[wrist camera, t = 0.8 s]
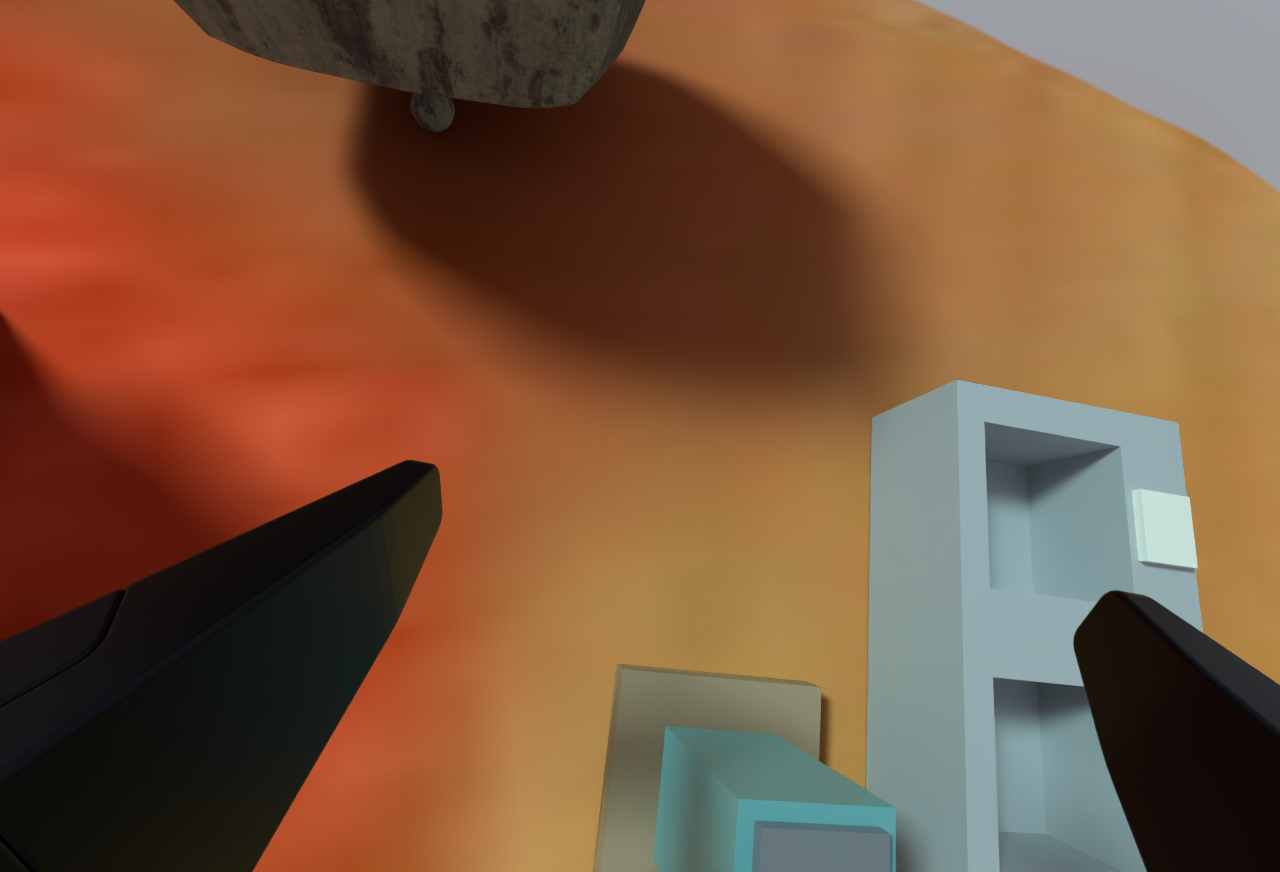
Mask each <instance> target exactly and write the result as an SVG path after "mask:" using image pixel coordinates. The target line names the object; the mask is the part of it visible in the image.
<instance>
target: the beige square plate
mask: <svg viewBox="0 0 1280 872" xmlns="http://www.w3.org/2000/svg"><path fill="white" fill-rule="evenodd" d="M820 716H821V687H819V686H816V685H813V684H811V683H808V682H805V681H794V680H784V679H773V678H762V677H752V676H741V675H730V674H720V673H709V672H698V671H688V670H677V669H666V668H656V667H645V666H634V665H624V664H617V669H616V678H615V686H614V695H613V704H612V712H611V721H610V730H609V739H608V747H607V756H606V765H605V774H604V782H603V791H602V800H601V809H600V817H599V826H598V835H597V844H596V852H595V861H594V870H593V872H659V871H658V869H657V867H656V865H655V863H654V861H653V856H654V845H655V835H656V824H657V813H658V802H659V792H660V781H661V770H662V759H663V748H664V738H665V727H666V726H673V727H686V728H699V729H711V730H724V731H737V732H750V733H763V734H776V735H777V736H779V737H781V738H782V739H784V740H785V741H787V742H789V743H790V744H792V745H794V746H795V747H797V748H799V749H800V750H802V751H803V752H805V753H807V754H808V755H810V756H812V757H813V758H815V759H817V760H818V761H819V746H820Z"/></svg>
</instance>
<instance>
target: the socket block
mask: <svg viewBox="0 0 1280 872" xmlns="http://www.w3.org/2000/svg"><path fill="white" fill-rule="evenodd" d="M1195 568H1198V566H1197V557H1196V549H1195V541H1194V532H1193V524H1192V516H1191V507H1190V499H1189V497H1187V495H1186V486H1185V478H1184V469H1183V461H1182V453H1181V444H1180V436H1179V427H1178V423H1177V422H1172V421H1167V420H1162V419H1157V418H1152V417H1146V416H1141V415H1136V414H1131V413H1126V412H1121V411H1116V410H1110V409H1105V408H1100V407H1095V406H1090V405H1085V404H1079V403H1074V402H1069V401H1064V400H1059V399H1054V398H1048V397H1043V396H1038V395H1033V394H1028V393H1023V392H1017V391H1012V390H1007V389H1002V388H997V387H992V386H986V385H981V384H976V383H971V382H966V381H961V380H955V381H953V382H951V383H949V384H946V385H944V386H942V387H940V388H937V389H935V390H933V391H931V392H928V393H926V394H924V395H922V396H919V397H917V398H915V399H913V400H910V401H908V402H906V403H904V404H901V405H899V406H897V407H895V408H892V409H890V410H888V411H886V412H883V413H881V414H879V415H877V416H874V417H872V440H871V506H870V573H869V639H868V705H867V771H866V790H867V791H869V792H871V793H872V794H874V795H876V796H877V797H879V798H880V799H882V800H884V801H885V802H887V803H889V804H890V805H892V806H894V807H895V808H896V872H1146V869H1145V866H1144V864H1143V861H1142V859H1141V856H1140V853H1139V851H1138V848H1137V846H1136V843H1135V840H1134V838H1133V835H1132V833H1131V830H1130V827H1129V825H1128V822H1127V820H1126V817H1125V814H1124V812H1123V809H1122V806H1121V804H1120V801H1119V799H1118V796H1117V793H1116V791H1115V788H1114V786H1113V783H1112V780H1111V777H1110V775H1109V772H1108V769H1107V766H1106V763H1105V760H1104V757H1103V753H1102V750H1101V747H1100V743H1099V740H1098V736H1097V732H1096V729H1095V725H1094V721H1093V718H1092V714H1091V710H1090V707H1089V703H1088V699H1087V696H1086V692H1085V689H1084V685H1083V681H1082V678H1081V674H1080V670H1079V667H1078V663H1077V659H1076V656H1075V652H1074V647H1073V639H1074V634H1075V632H1076V630H1077V628H1078V627H1079V625H1080V624H1081V623H1082V621H1083V620H1084V619H1085V617H1086V616H1087V615H1088V614H1089V612H1090V611H1091V610H1092V608H1093V607H1094V606H1095V604H1096V603H1097V602H1098V600H1099V599H1100V598H1101V597H1102V596H1103V595H1104V594H1105V593H1107V592H1109V591H1112V590H1120V591H1125V592H1131V593H1136V594H1142V595H1145V596H1148V597H1150V598H1152V599H1154V600H1155V601H1157V602H1158V603H1160V604H1161V605H1163V606H1164V607H1166V608H1167V609H1168V610H1170V611H1171V612H1173V613H1174V614H1176V615H1177V616H1179V617H1180V618H1182V619H1183V620H1185V621H1186V622H1188V623H1189V624H1191V625H1192V626H1193V627H1195V628H1196V629H1198V630H1199V631H1201V632H1202V633H1203V630H1202V621H1201V613H1200V604H1199V596H1198V587H1197V579H1196V571H1195Z"/></svg>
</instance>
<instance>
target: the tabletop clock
mask: <svg viewBox="0 0 1280 872" xmlns="http://www.w3.org/2000/svg"><path fill="white" fill-rule="evenodd" d="M174 1H175V2H176V3H177V4H178V5H179V6H180V7H181V8H182V9H183V10H184V11H185V12H186V13H187V14H188V15H189V17H190V18H191V19H192V20H193V21H194V22H195V23H196V24H197V25H198V26H199V27H200V28H201V29H202V30H203V31H204V32H205V33H206V34H207V35H209V36H211V37H213V38H215V39H218V40H220V41H222V42H224V43H227V44H229V45H231V46H233V47H235V48H238V49H240V50H242V51H244V52H247V53H249V54H252V55H255V56H258V57H261V58H264V59H267V60H270V61H273V62H277V63H280V64H284V65H288V66H292V67H296V68H301V69H305V70H310V71H314V72H319V73H324V74H328V75H333V76H337V77H342V78H347V79H351V80H356V81H360V82H365V83H370V84H374V85H379V86H383V87H388V88H392V89H397V90H402V91H406V92H413V95H412V98H411V101H410V107H411V111H412V114H413V116H414V117H415V119H416V120H417V122H418V123H419V124H420V125H421V127H423V128H424V129H426V130H428V131H431V132H440V131H443V130H445V129H447V128H448V127H449V126H450V125H451V123H452V121H453V118H454V115H455V108H454V105H453V102H452V100H451V99H450V98H455V99H462V100H469V101H476V102H483V103H490V104H498V105H505V106H513V107H523V108H551V107H558V106H564V105H571V104H576V103H577V102H578V101H579V100H580V99H581V98H582V97H583V96H584V95H585V94H586V93H587V92H588V91H589V90H590V89H591V88H592V87H593V86H594V85H595V84H596V83H597V82H598V81H599V80H600V79H601V77H602V76H603V75H604V74H605V72H606V71H607V70H608V68H609V67H610V66H611V65H612V63H613V62H614V61H615V60H616V58H617V57H618V56H619V54H620V53H621V52H622V51H623V49H624V47H625V44H626V42H627V40H628V38H629V36H630V34H631V32H632V30H633V28H634V26H635V24H636V21H637V19H638V17H639V14H640V12H641V10H642V8H643V5H644V2H645V0H174Z"/></svg>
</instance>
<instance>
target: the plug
mask: <svg viewBox="0 0 1280 872" xmlns="http://www.w3.org/2000/svg"><path fill="white" fill-rule="evenodd" d="M653 861H654V863H655V865H656V867H657V869H658V871H659V872H896V808H895V807H894V806H892V805H890V804H889V803H887V802H885V801H884V800H882V799H880V798H879V797H877V796H876V795H874V794H872V793H871V792H869V791H867V790H866V789H864V788H862V787H861V786H859V785H858V784H856V783H854V782H853V781H851V780H849V779H848V778H846V777H844V776H843V775H841V774H840V773H838V772H836V771H835V770H833V769H831V768H830V767H828V766H826V765H825V764H823V763H822V762H820V761H818V760H817V759H815V758H813V757H812V756H810V755H808V754H807V753H805V752H803V751H802V750H800V749H799V748H797V747H795V746H794V745H792V744H790V743H789V742H787V741H785V740H784V739H782V738H781V737H779V736H777V735H776V734H763V733H750V732H737V731H724V730H711V729H699V728H686V727H673V726H666V727H665V738H664V748H663V759H662V770H661V781H660V792H659V802H658V813H657V824H656V835H655V845H654V856H653Z"/></svg>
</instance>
